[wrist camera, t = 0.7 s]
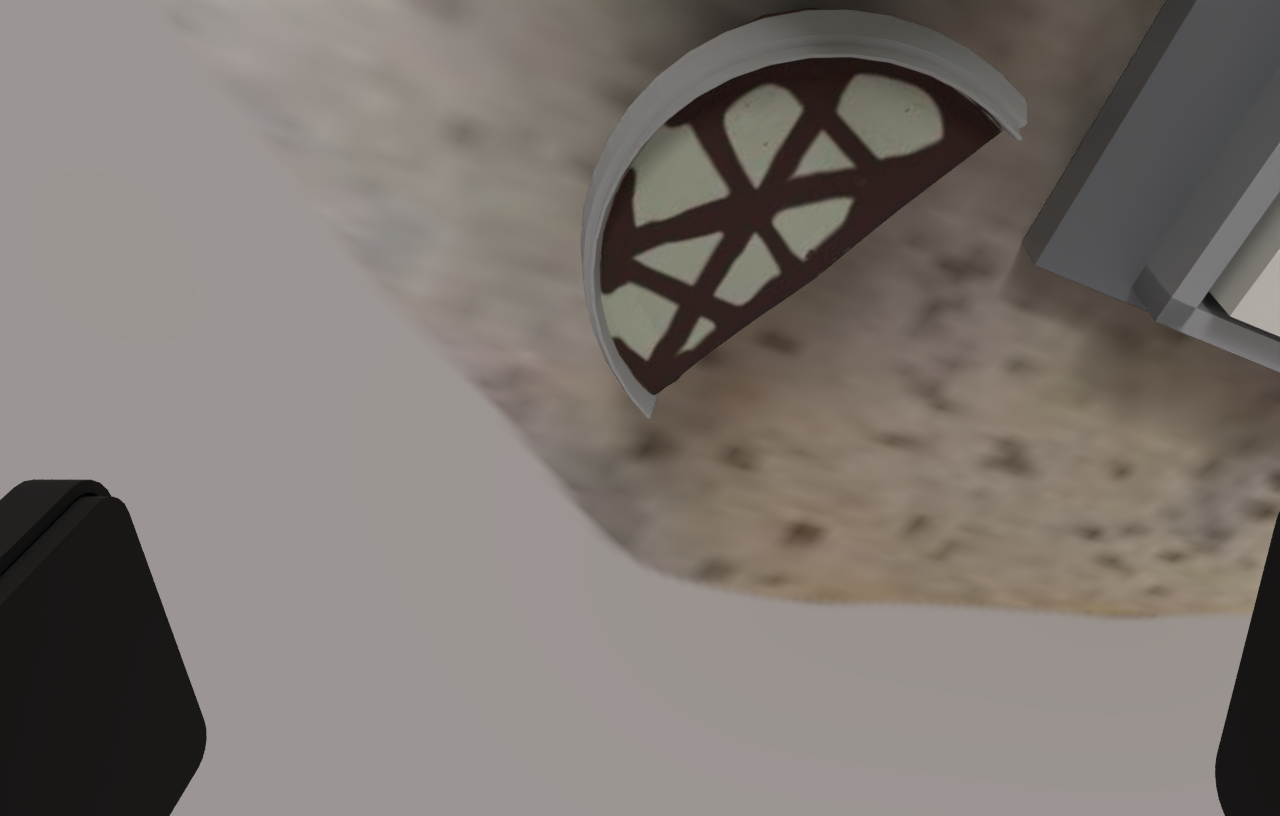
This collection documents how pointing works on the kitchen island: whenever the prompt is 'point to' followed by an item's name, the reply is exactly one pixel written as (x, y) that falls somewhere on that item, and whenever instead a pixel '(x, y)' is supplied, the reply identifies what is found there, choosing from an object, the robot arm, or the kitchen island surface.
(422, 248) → the kitchen island surface
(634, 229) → the food container
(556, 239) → the kitchen island surface
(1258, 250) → the key two dots
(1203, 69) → the keypad
